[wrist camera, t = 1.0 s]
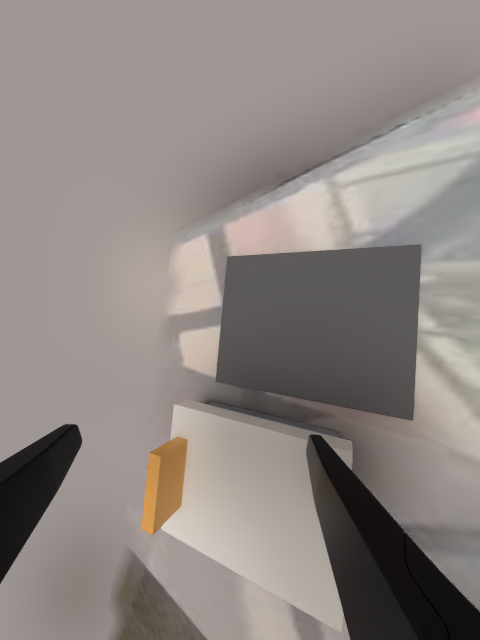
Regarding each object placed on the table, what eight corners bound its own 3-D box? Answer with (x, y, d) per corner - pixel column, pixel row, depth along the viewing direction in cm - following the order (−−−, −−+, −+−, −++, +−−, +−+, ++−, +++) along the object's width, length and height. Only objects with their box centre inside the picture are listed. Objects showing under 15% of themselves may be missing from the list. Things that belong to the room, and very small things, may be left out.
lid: (341, 602, 17) (341, 710, 12) (175, 514, 24) (130, 561, 19) (351, 441, 18) (355, 480, 13) (186, 399, 24) (146, 414, 19)
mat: (411, 419, 19) (413, 420, 19) (217, 380, 27) (215, 381, 27) (420, 246, 20) (421, 244, 20) (229, 257, 28) (227, 256, 28)
